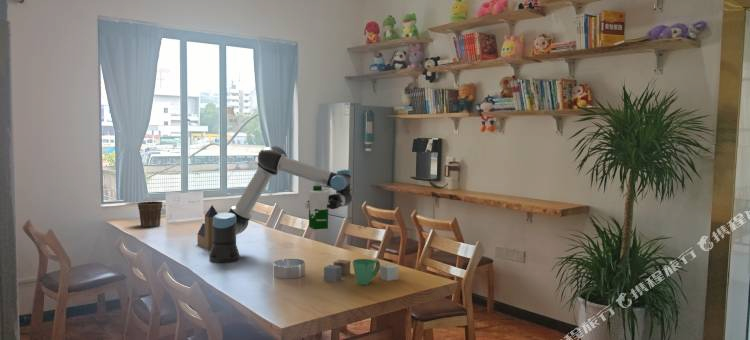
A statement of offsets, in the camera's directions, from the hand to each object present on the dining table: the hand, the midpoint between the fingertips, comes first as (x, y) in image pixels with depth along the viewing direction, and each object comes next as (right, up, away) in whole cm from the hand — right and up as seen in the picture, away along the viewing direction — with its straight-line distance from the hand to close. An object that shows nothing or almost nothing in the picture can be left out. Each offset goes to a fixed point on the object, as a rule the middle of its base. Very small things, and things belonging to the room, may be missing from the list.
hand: (314, 206), depth 253 cm
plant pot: (-126, -22, +116) cm, 173 cm away
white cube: (+35, -33, -4) cm, 49 cm away
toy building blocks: (-64, -27, +56) cm, 90 cm away
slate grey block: (+9, -33, -8) cm, 35 cm away
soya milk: (+1, -11, +5) cm, 12 cm away
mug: (+25, -34, -12) cm, 44 cm away
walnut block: (+13, -32, +2) cm, 35 cm away
